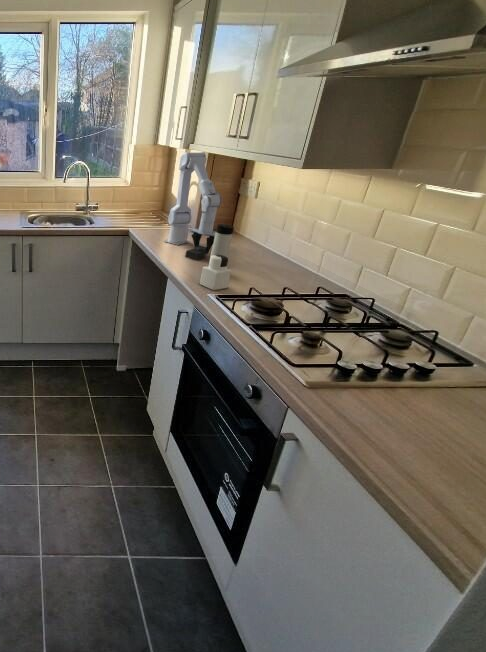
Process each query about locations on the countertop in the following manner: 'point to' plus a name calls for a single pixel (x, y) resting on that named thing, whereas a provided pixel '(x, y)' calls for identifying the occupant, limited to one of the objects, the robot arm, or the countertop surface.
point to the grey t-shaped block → (201, 249)
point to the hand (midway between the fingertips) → (201, 250)
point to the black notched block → (195, 254)
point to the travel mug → (222, 240)
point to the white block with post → (216, 273)
